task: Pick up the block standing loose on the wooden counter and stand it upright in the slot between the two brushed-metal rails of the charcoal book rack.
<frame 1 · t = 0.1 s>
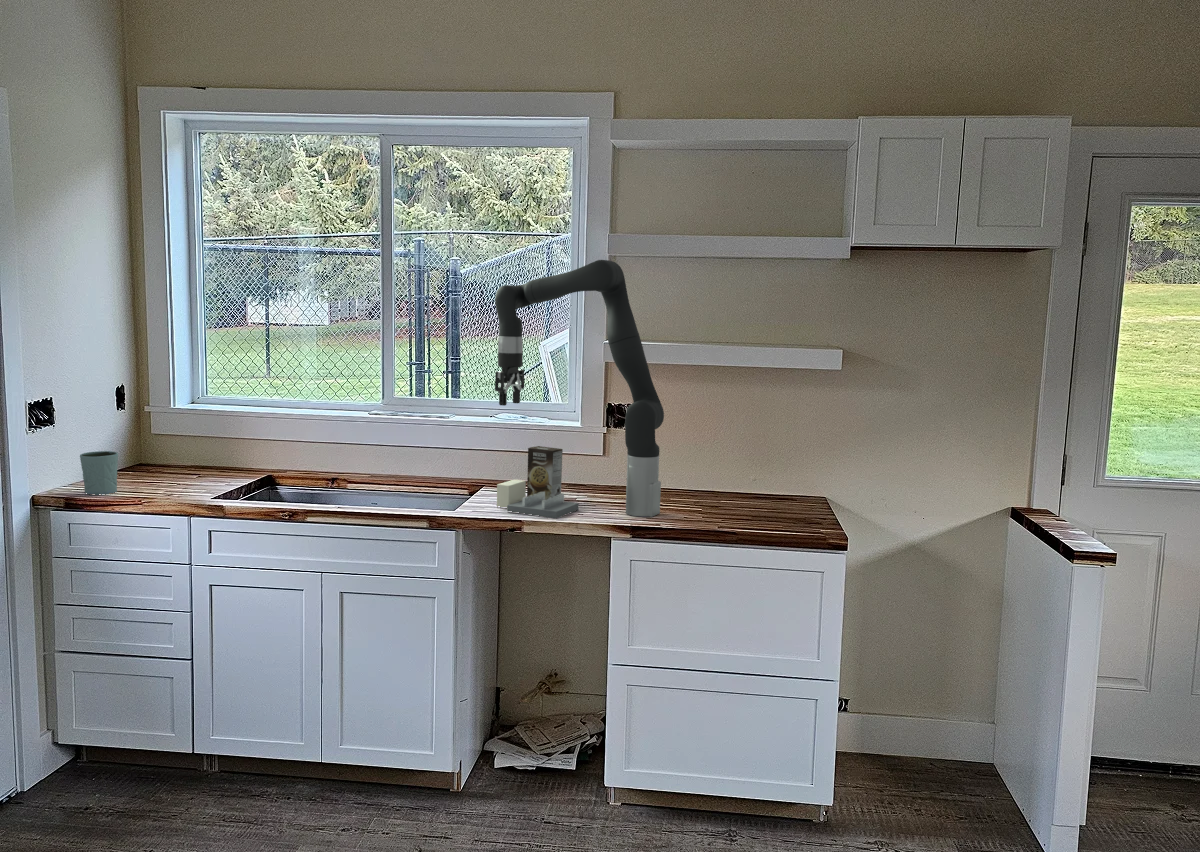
hand: (509, 404, 295), 29 cm above the worktop, tool pointing down, fingers open, 8 cm apart
book rack: (543, 510, 280), on the worktop
green cup: (100, 493, 290), on the worktop
coffee box: (544, 500, 297), on the worktop
block: (511, 505, 287), on the worktop
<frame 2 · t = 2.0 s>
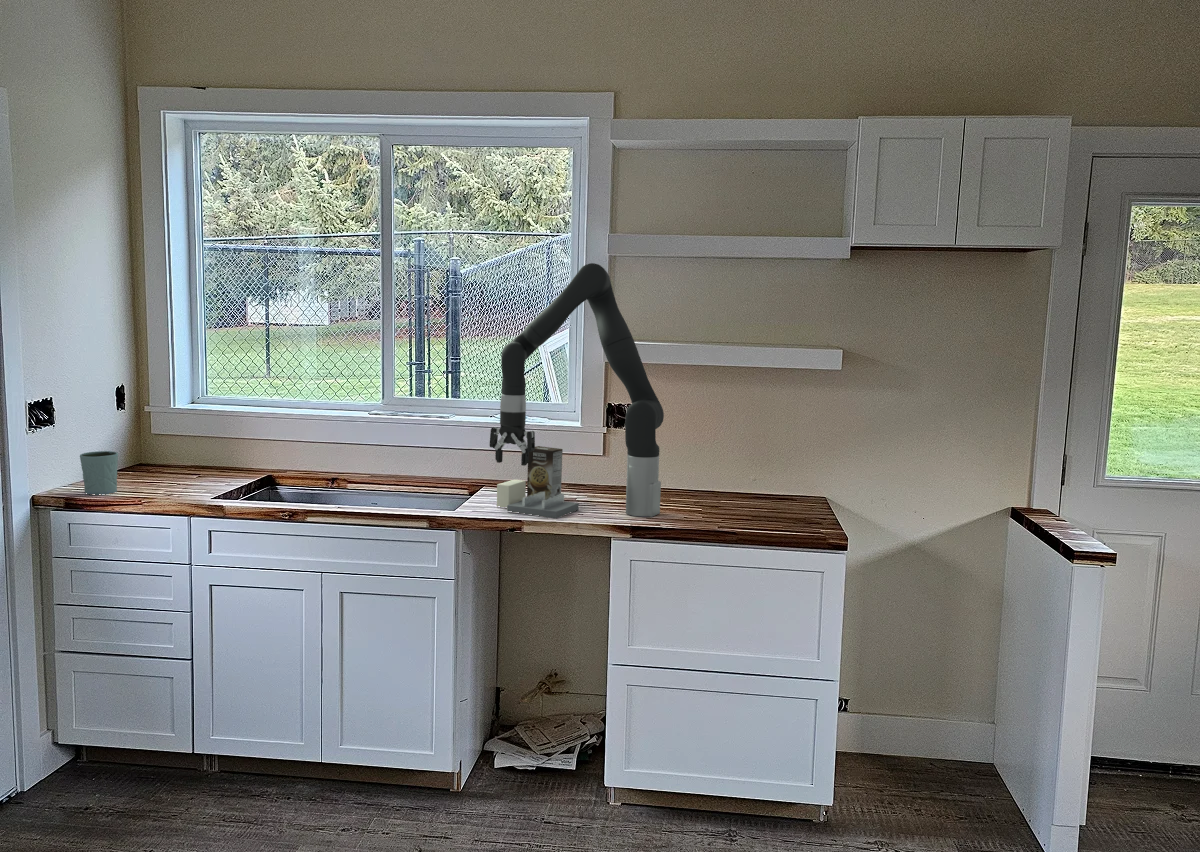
hand: (511, 463, 286), 12 cm above the worktop, tool pointing down, fingers open, 8 cm apart
nothing on the worktop moved.
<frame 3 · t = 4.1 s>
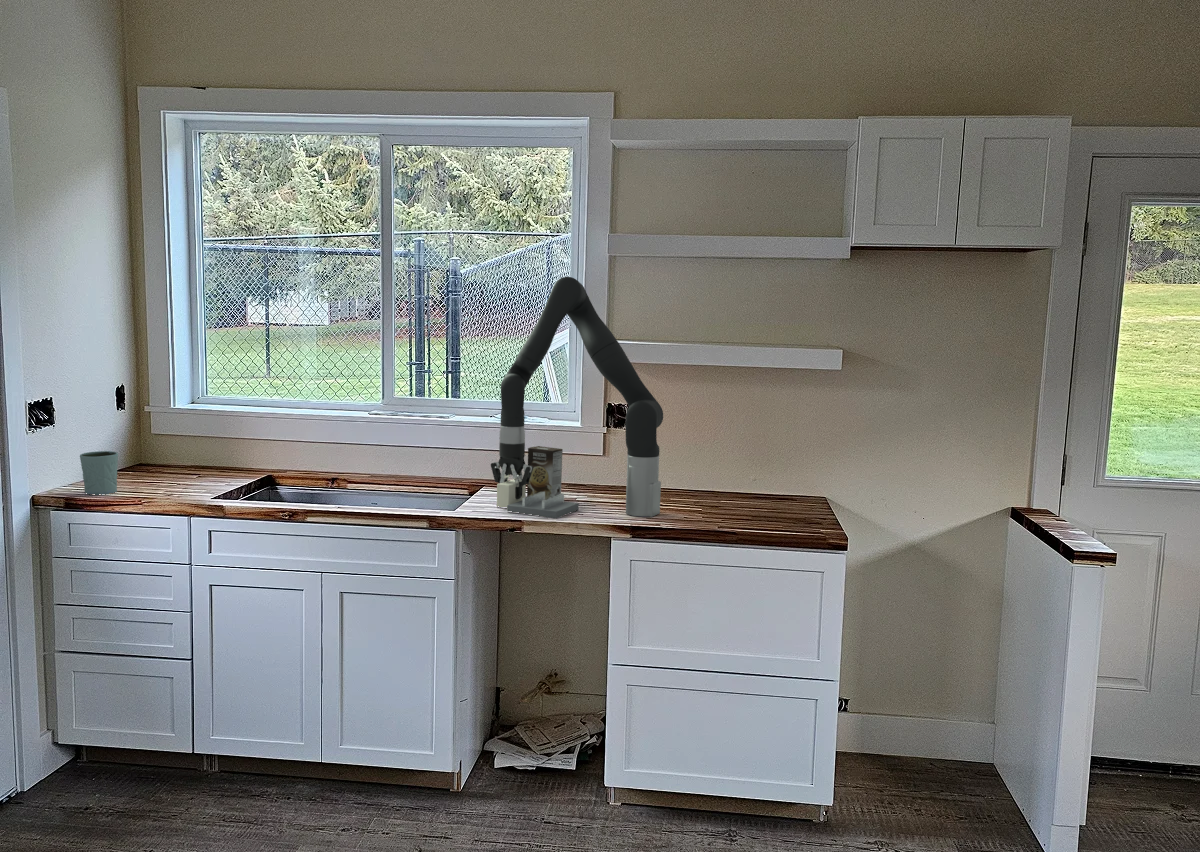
hand: (511, 497, 287), 2 cm above the worktop, tool pointing down, fingers closed on block, 4 cm apart
block: (511, 505, 287), on the worktop, touching gripper
everything else where it was.
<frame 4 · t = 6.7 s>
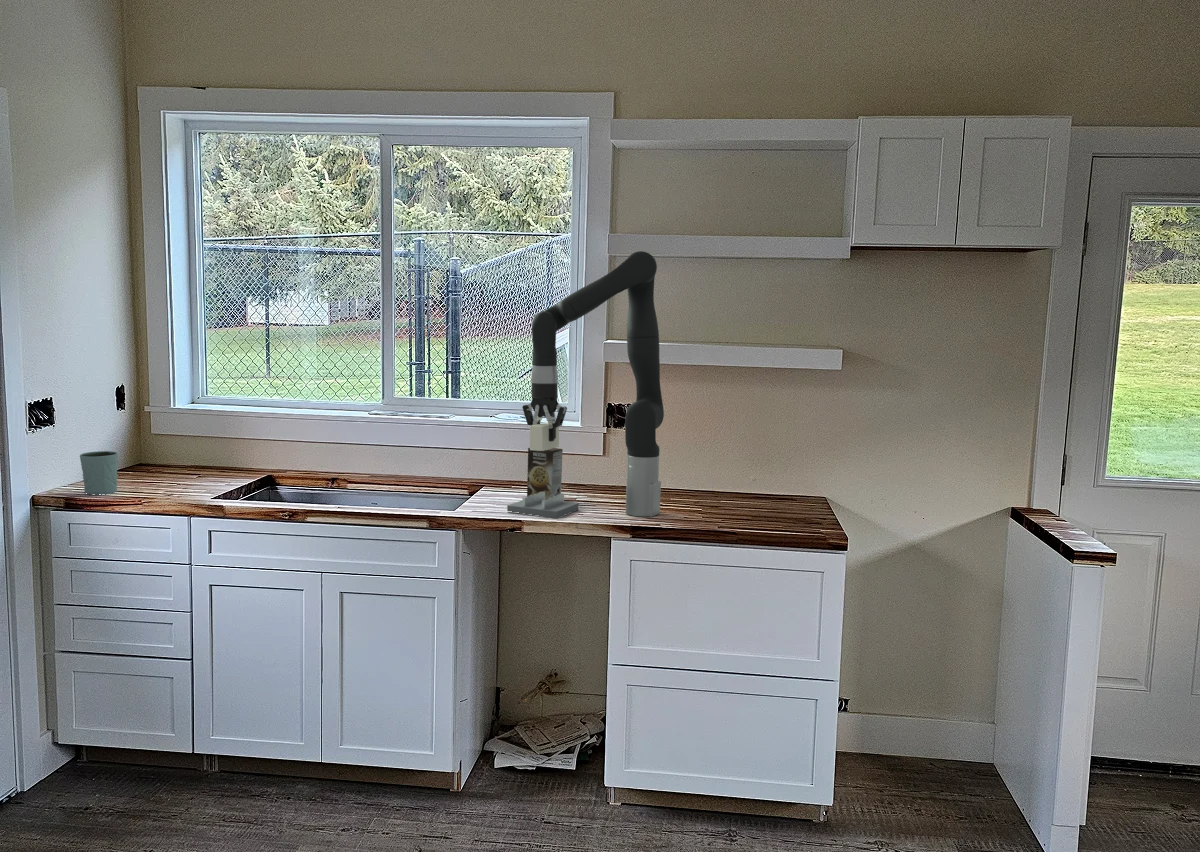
hand: (544, 440, 278), 21 cm above the worktop, tool pointing down, fingers closed on block, 4 cm apart
block: (544, 448, 278), point 18 cm above the worktop, touching gripper
everything else where it was.
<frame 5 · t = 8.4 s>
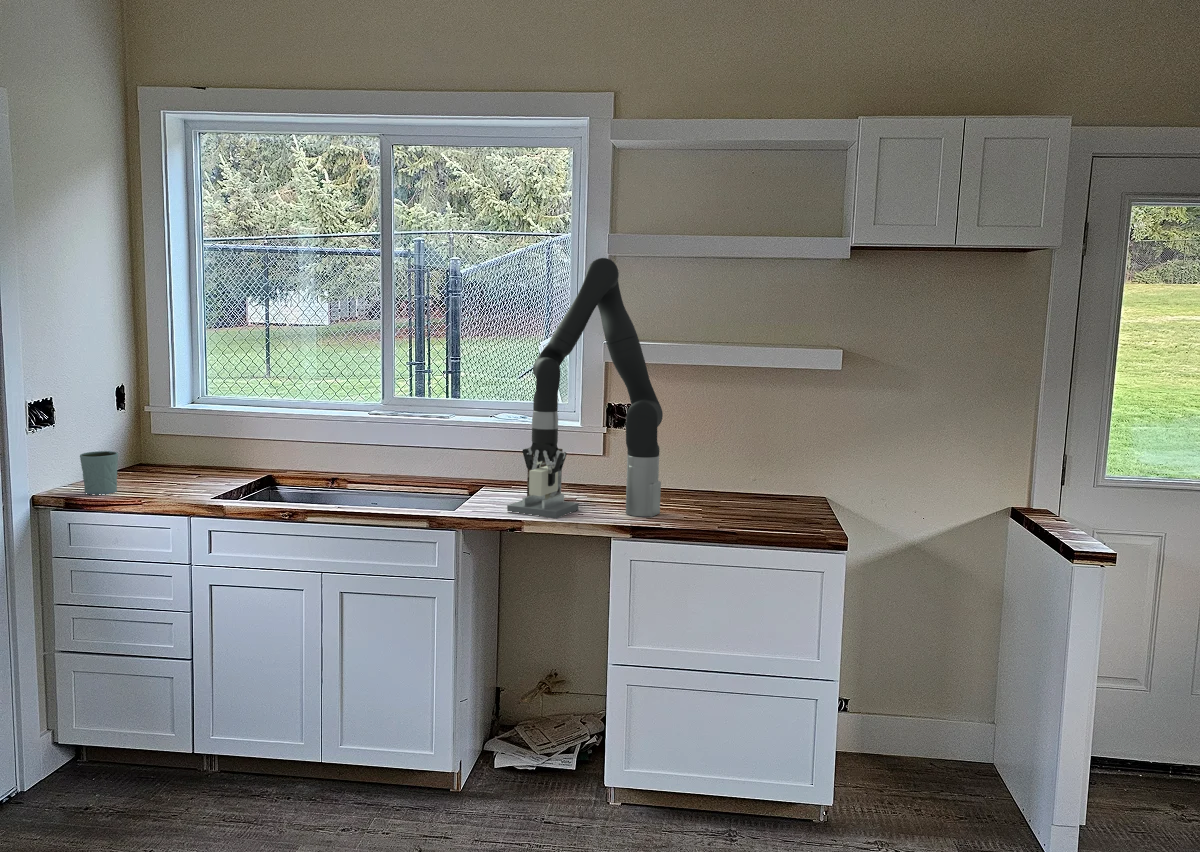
hand: (543, 484, 280), 8 cm above the worktop, tool pointing down, fingers closed on block, 4 cm apart
block: (543, 492, 280), point 5 cm above the worktop, touching gripper
everything else where it was.
when the fingers open (6 cm above the worktop, at t = 9.5 s): block drops 1 cm, resting on book rack.
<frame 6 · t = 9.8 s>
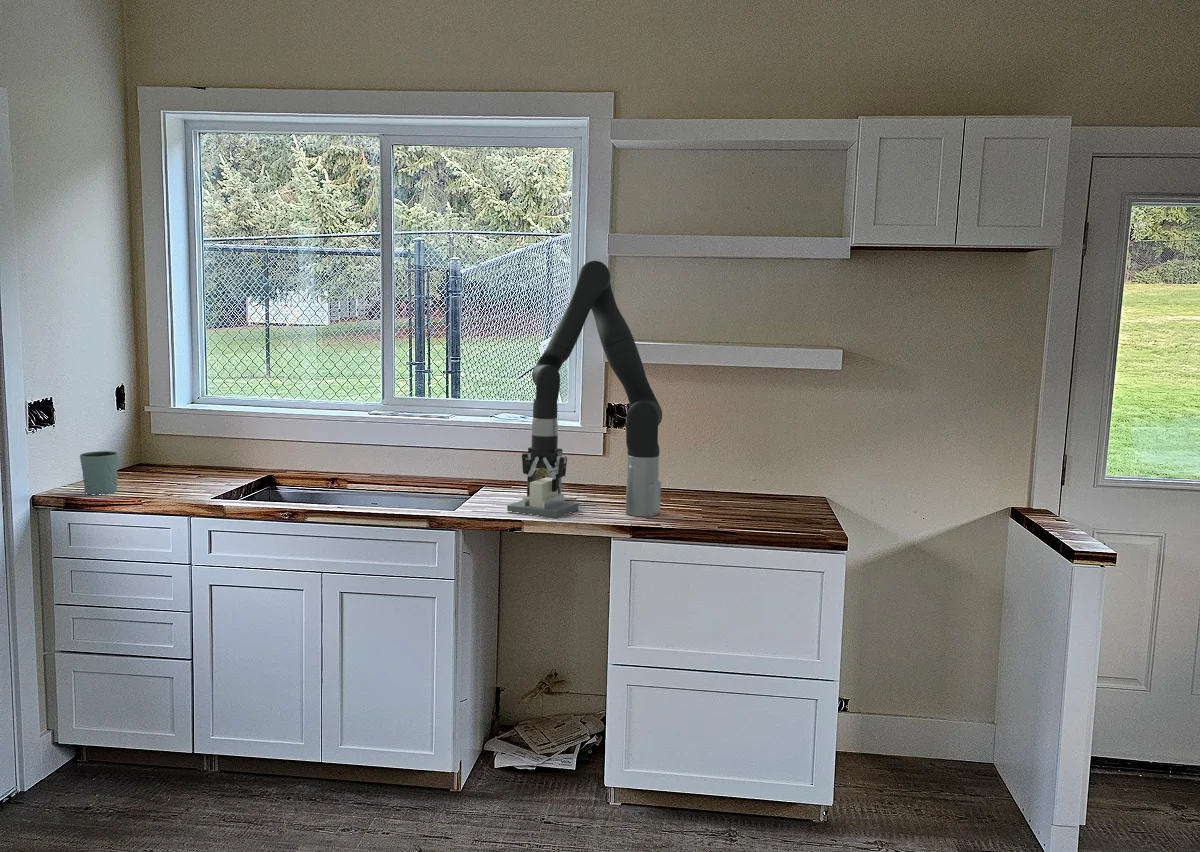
hand: (543, 490, 280), 6 cm above the worktop, tool pointing down, fingers open, 6 cm apart
block: (543, 504, 280), point 2 cm above the worktop, touching book rack
everything else where it was.
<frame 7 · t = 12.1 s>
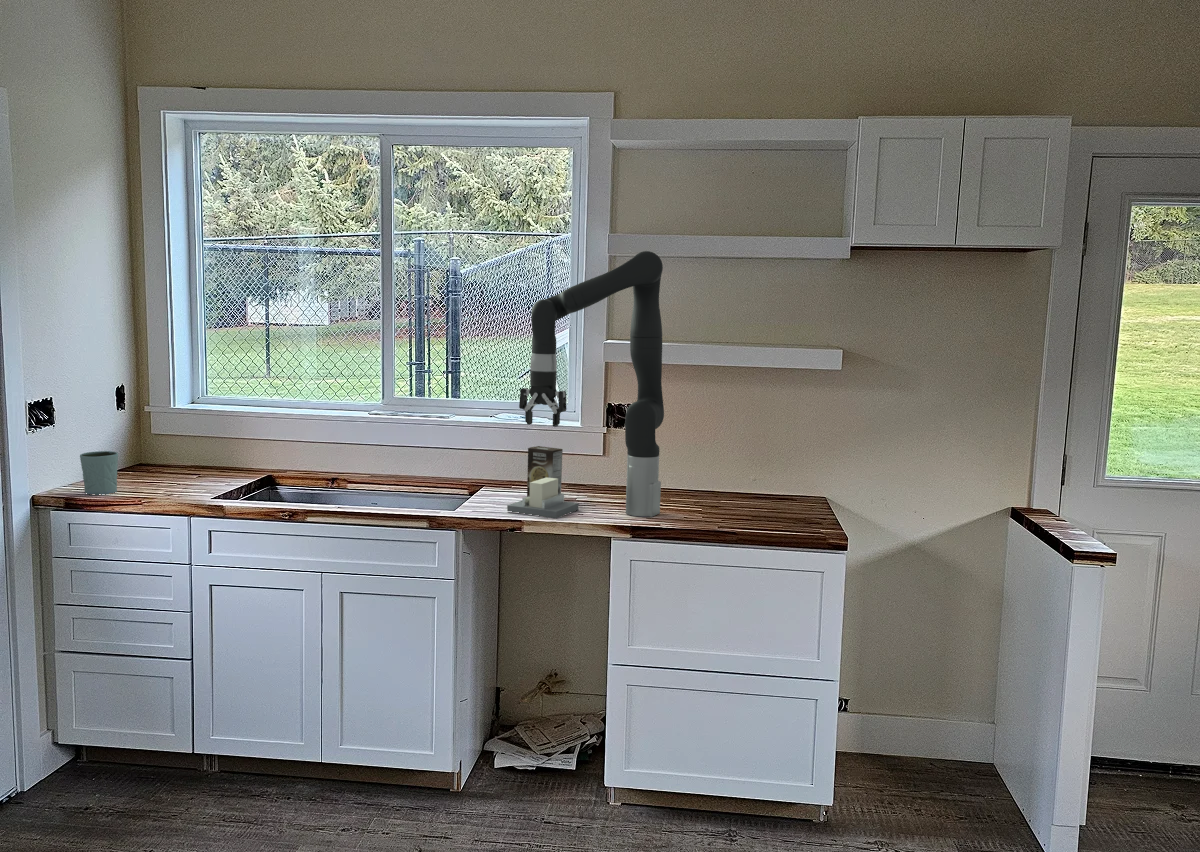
hand: (542, 425, 279), 25 cm above the worktop, tool pointing down, fingers open, 8 cm apart
nothing on the worktop moved.
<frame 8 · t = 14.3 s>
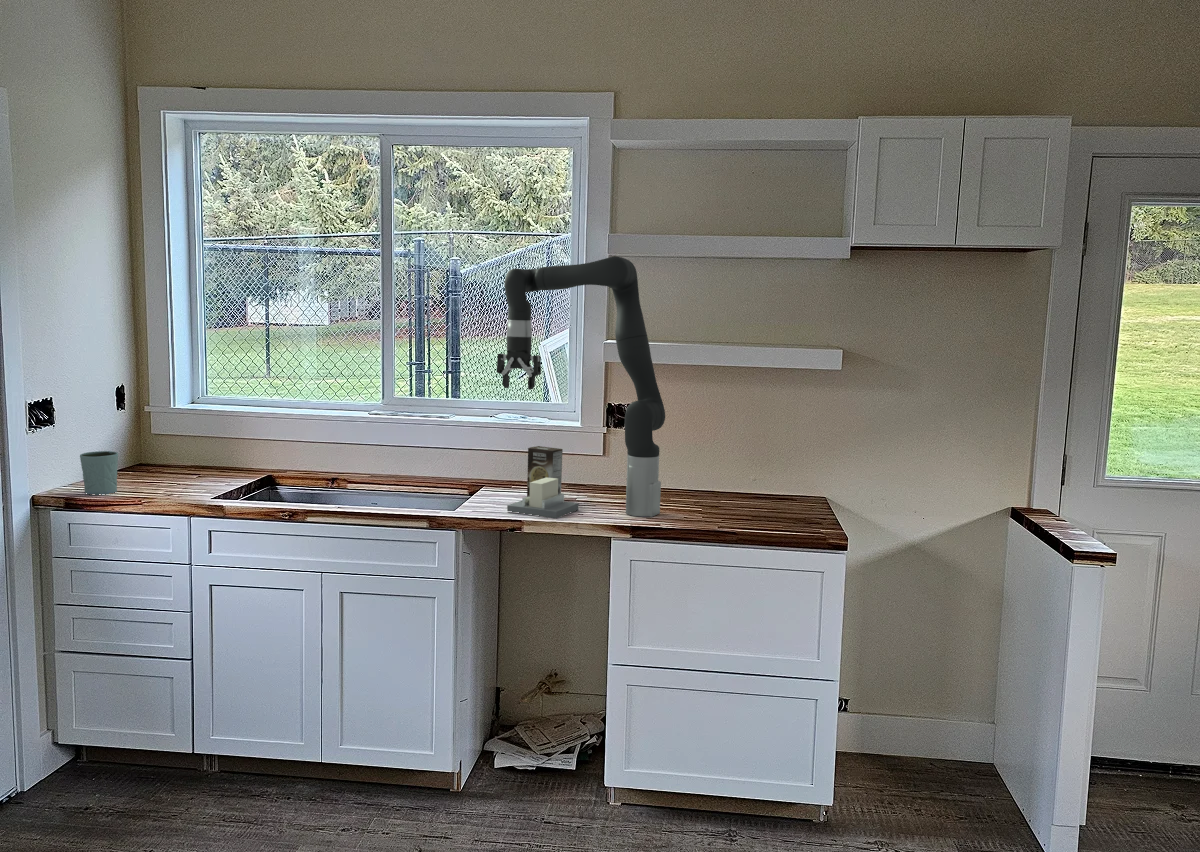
hand: (518, 388, 294), 34 cm above the worktop, tool pointing down, fingers open, 8 cm apart
nothing on the worktop moved.
at the end: block 0.1 cm off-centre on the book rack, point 2.0 cm above the book rack's base; block tilted 0°; the gripper is holding nothing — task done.
